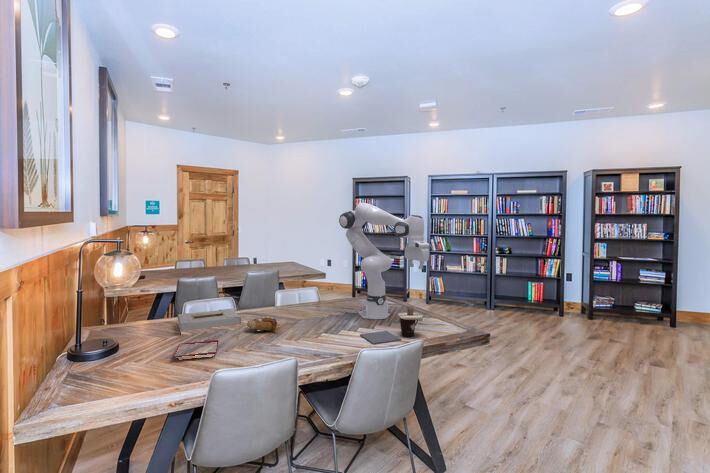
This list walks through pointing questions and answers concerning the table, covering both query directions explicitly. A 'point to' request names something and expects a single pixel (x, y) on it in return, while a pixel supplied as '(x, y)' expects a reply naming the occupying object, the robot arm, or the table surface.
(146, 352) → the table surface
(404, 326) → the coffee mug
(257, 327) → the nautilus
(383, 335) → the mat
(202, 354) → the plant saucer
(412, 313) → the lid
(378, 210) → the robot arm
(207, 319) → the box
